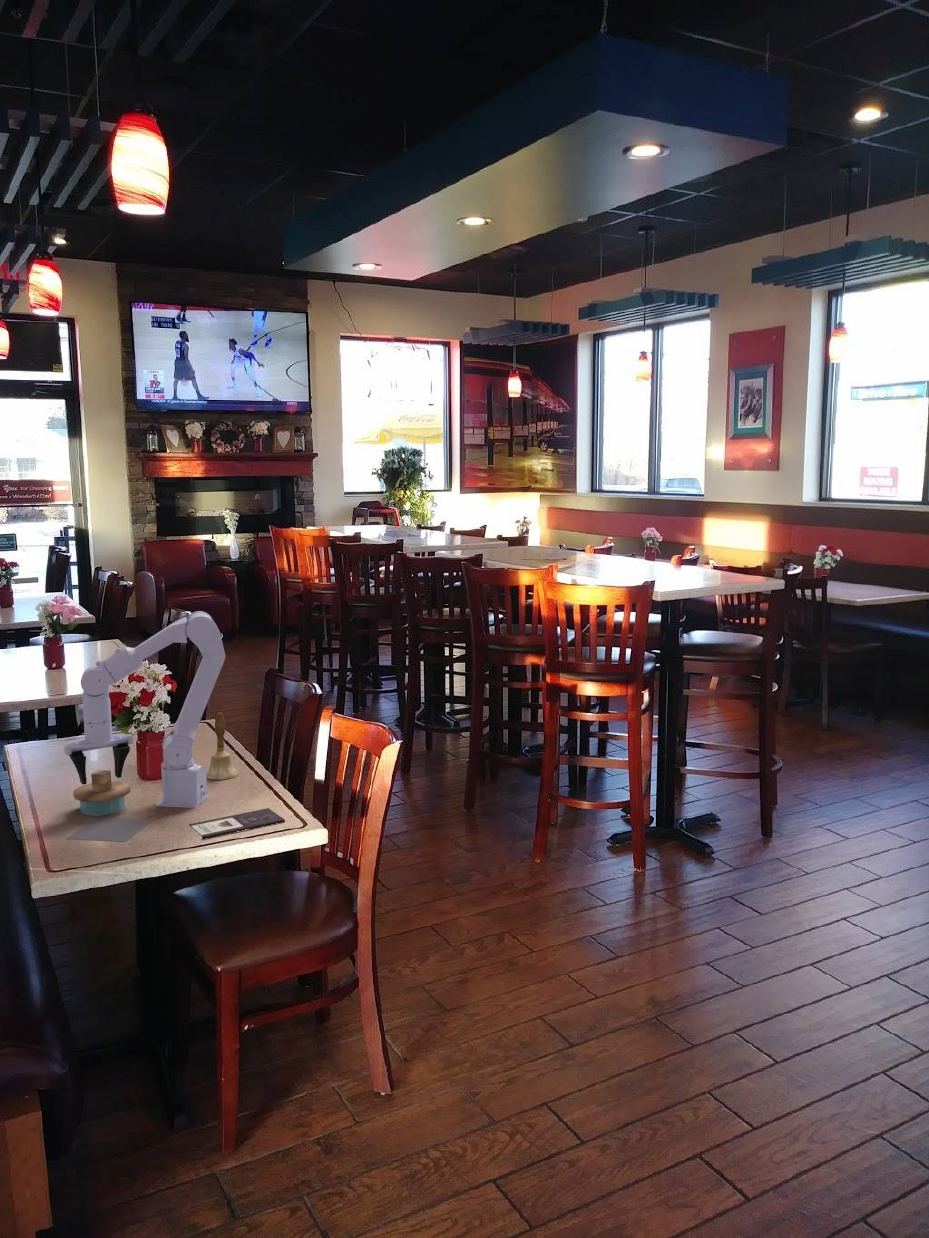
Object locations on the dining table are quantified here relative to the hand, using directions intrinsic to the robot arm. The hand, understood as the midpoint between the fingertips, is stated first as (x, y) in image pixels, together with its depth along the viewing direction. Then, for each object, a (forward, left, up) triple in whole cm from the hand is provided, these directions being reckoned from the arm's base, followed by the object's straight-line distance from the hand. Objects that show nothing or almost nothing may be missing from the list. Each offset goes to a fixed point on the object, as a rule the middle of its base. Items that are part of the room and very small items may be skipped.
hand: (101, 779), depth 218 cm
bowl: (0, 0, -7) cm, 7 cm away
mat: (-8, +12, -7) cm, 16 cm away
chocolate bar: (-33, +5, -8) cm, 34 cm away
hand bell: (-17, -28, -7) cm, 34 cm away
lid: (0, 0, -3) cm, 3 cm away
